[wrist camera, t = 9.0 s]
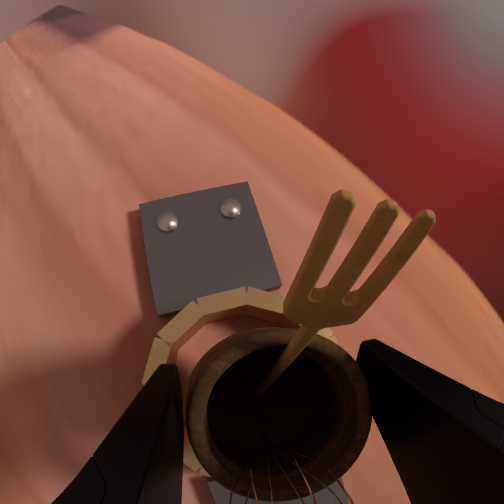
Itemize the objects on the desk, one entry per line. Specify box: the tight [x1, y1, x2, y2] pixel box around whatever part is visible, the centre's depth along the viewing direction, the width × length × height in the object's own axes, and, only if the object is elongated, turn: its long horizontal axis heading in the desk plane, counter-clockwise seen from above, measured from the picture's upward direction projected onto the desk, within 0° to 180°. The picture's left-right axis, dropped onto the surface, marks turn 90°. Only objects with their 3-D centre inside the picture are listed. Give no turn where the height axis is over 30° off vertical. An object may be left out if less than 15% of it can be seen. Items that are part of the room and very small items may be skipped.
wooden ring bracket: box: [139, 182, 349, 504], centre depth 16 cm, size 27×11×3 cm, turn 16°
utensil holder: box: [183, 190, 436, 504], centre depth 8 cm, size 6×6×12 cm
